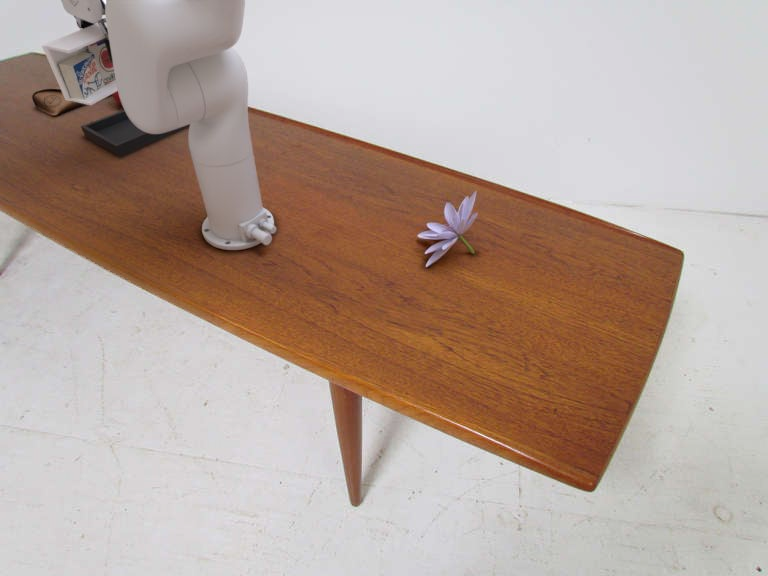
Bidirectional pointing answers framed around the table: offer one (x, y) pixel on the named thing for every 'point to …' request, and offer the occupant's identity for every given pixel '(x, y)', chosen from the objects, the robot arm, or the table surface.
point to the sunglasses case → (53, 101)
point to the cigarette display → (82, 65)
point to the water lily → (450, 228)
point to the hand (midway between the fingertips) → (108, 54)
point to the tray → (121, 134)
